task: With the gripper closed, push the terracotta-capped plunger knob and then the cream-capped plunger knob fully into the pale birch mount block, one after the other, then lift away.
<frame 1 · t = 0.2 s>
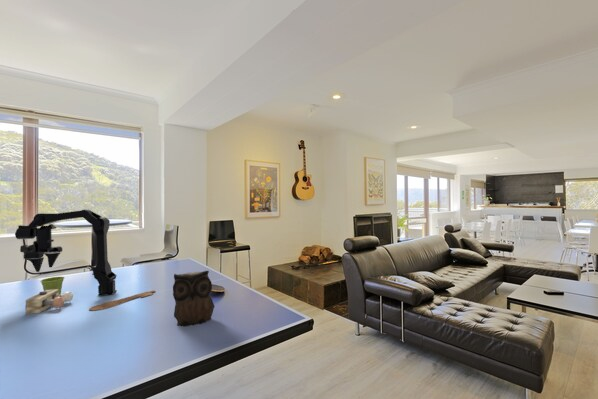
hand: (44, 269, 141), 14 cm above the table, tool pointing down, fingers open, 9 cm apart
mount: (49, 306, 130), on the table
paddle: (125, 302, 137), on the table
knob 1: (52, 302, 127), point 3 cm above the table, slide at 4.0 cm
plant pot: (52, 296, 145), on the table
owl: (194, 320, 114), on the table
knob 2: (61, 297, 134), point 3 cm above the table, slide at 4.0 cm
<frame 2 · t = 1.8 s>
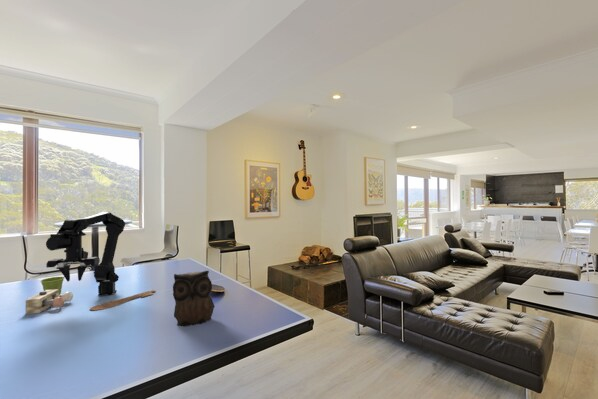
hand: (74, 280, 129), 12 cm above the table, tool pointing down, fingers open, 4 cm apart
nothing on the table moved.
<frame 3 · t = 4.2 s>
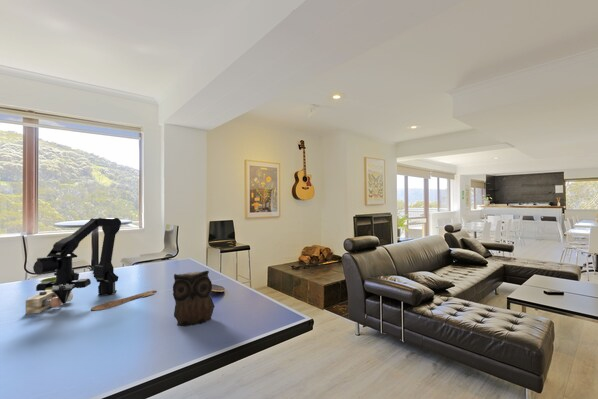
hand: (64, 303, 128), 2 cm above the table, tool pointing down, fingers closed
knob 1: (50, 302, 127), point 3 cm above the table, slide at 3.1 cm, touching gripper
everything else where it was.
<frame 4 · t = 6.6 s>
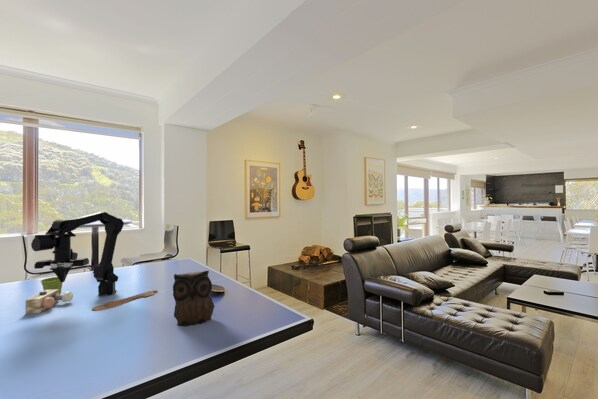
hand: (62, 282, 128), 12 cm above the table, tool pointing down, fingers closed
knob 1: (42, 303, 126), point 3 cm above the table, slide at -0.1 cm
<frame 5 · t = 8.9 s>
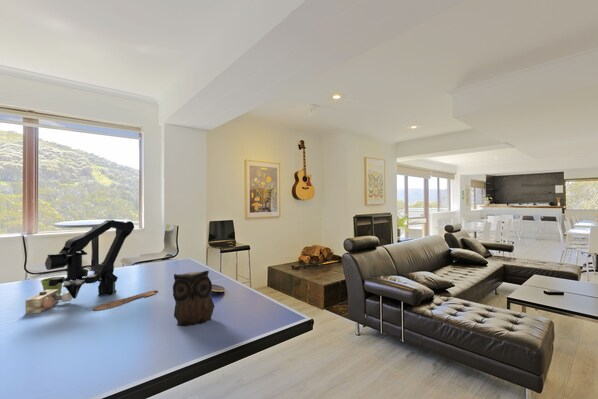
hand: (74, 298, 135), 2 cm above the table, tool pointing down, fingers closed
knob 2: (61, 297, 134), point 3 cm above the table, slide at 3.9 cm, touching gripper
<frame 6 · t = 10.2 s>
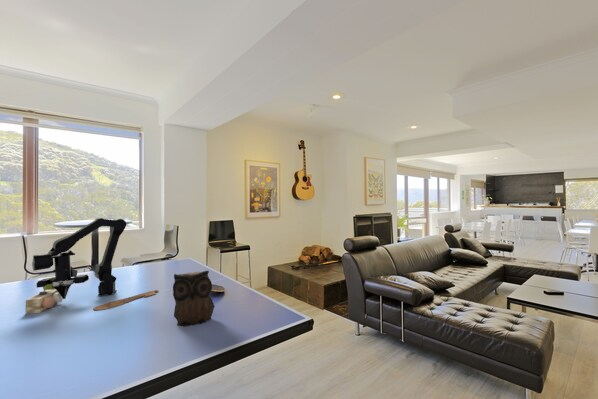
hand: (64, 298, 134), 2 cm above the table, tool pointing down, fingers closed
knob 2: (51, 297, 133), point 3 cm above the table, slide at -0.2 cm, touching gripper, mount
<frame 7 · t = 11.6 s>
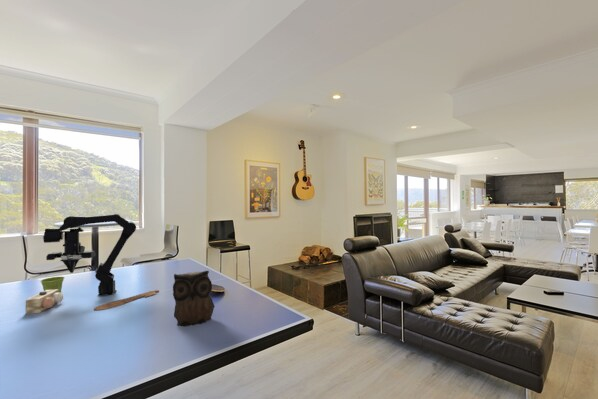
hand: (71, 272, 141), 13 cm above the table, tool pointing down, fingers closed
knob 2: (51, 297, 133), point 3 cm above the table, slide at -0.1 cm
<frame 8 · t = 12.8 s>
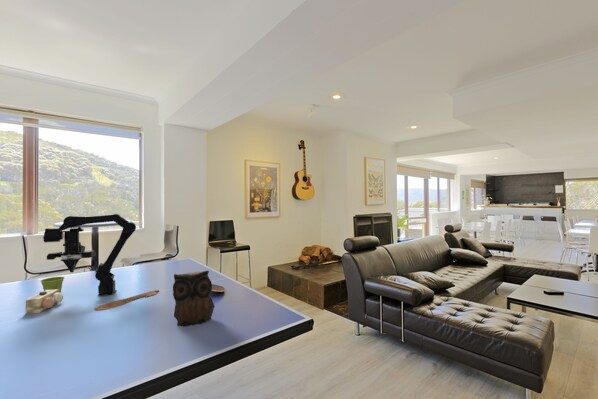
hand: (72, 272, 141), 13 cm above the table, tool pointing down, fingers closed
at the end: knob 1 slide at -0.1 cm; knob 2 slide at -0.1 cm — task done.
